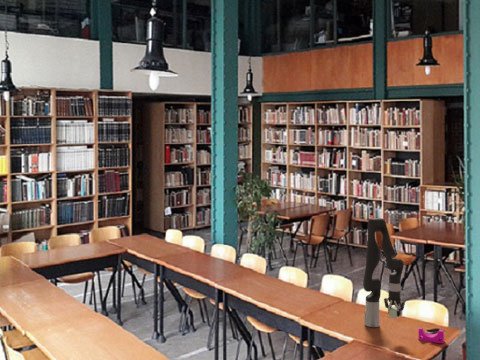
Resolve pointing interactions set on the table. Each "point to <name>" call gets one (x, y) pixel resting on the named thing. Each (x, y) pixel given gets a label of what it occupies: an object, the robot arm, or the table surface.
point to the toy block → (431, 336)
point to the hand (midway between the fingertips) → (394, 315)
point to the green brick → (393, 312)
